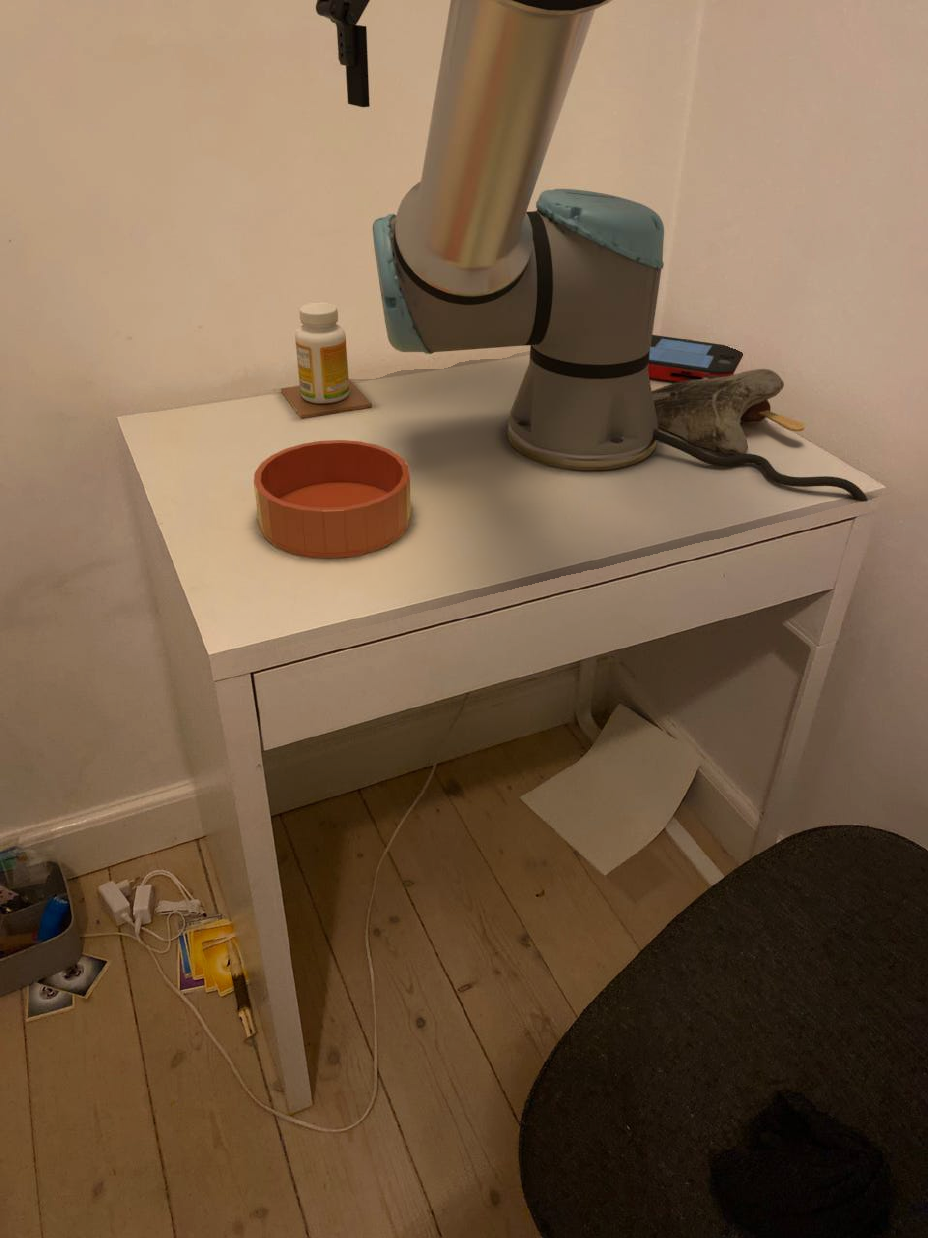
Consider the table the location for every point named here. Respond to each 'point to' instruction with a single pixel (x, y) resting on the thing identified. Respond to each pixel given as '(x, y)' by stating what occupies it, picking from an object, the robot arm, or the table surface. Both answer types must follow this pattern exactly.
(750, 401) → the fossil
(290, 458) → the terracotta planter dish
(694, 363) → the game console
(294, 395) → the coaster
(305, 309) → the supplement bottle
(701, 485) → the table surface
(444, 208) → the robot arm
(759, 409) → the ice cream bar
